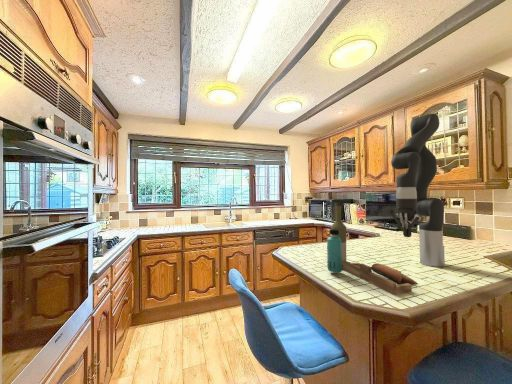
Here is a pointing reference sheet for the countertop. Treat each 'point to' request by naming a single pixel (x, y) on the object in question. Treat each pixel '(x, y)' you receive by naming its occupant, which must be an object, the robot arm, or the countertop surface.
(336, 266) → the beverage bottle
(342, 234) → the bottle
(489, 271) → the countertop surface
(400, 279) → the sunglasses case
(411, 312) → the countertop surface
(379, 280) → the display cradle
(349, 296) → the countertop surface
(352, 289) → the countertop surface
